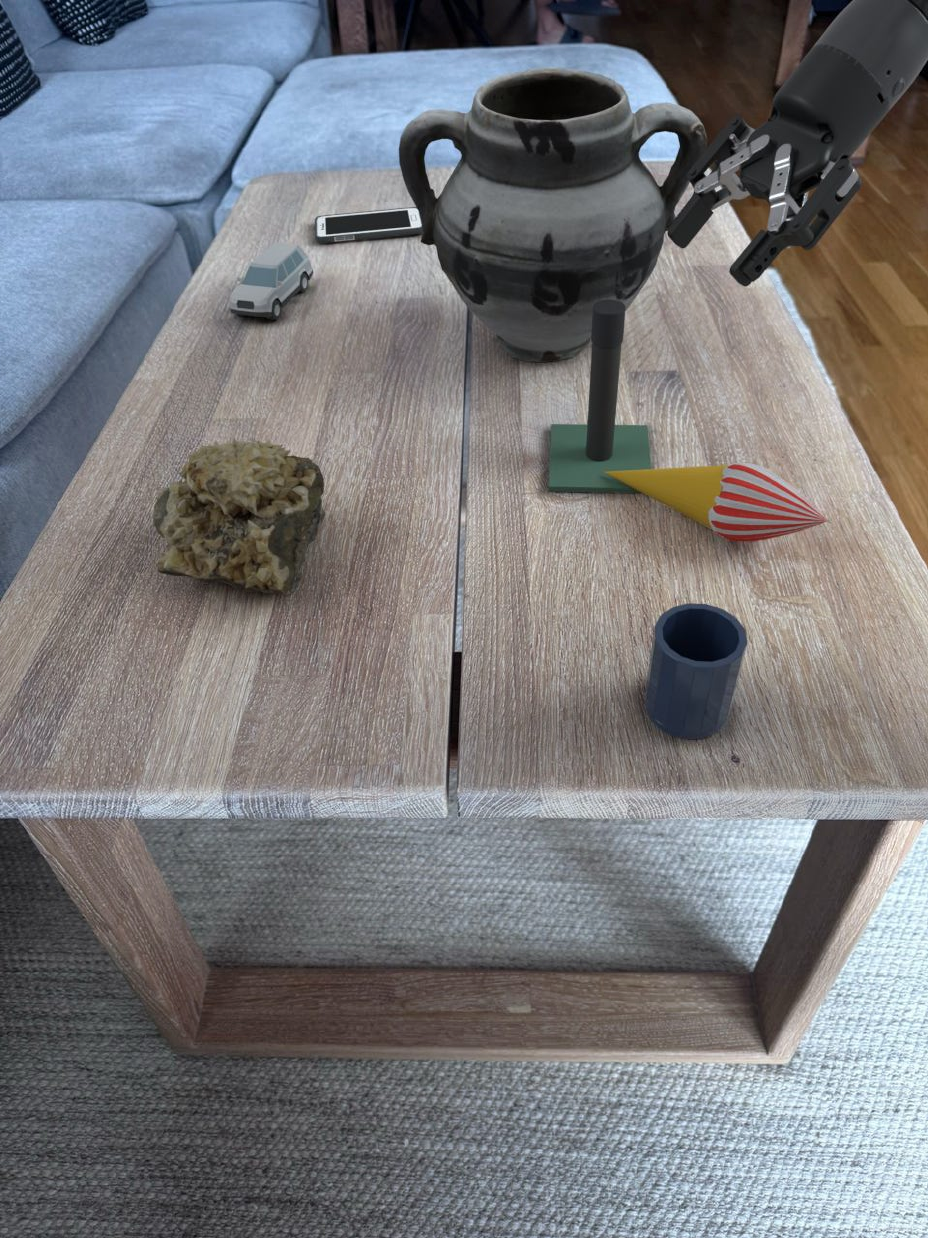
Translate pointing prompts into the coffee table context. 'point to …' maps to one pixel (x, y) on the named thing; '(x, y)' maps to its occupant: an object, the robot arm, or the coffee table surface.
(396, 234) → the cell phone
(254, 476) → the mineral specimen
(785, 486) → the ice cream cone
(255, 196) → the coffee table surface
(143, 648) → the coffee table surface
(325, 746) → the coffee table surface
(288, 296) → the toy car
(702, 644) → the pen cup
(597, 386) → the cylinder
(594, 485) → the felt pad
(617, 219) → the ceramic pot
